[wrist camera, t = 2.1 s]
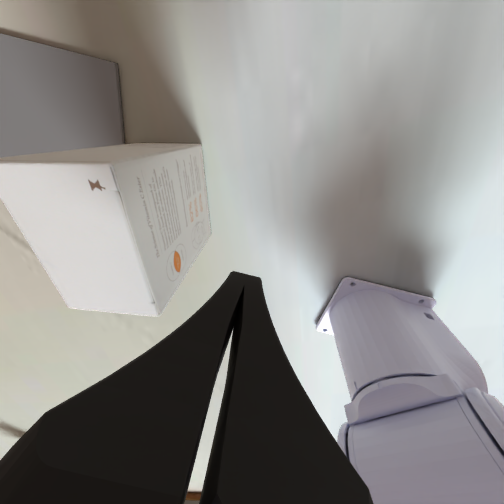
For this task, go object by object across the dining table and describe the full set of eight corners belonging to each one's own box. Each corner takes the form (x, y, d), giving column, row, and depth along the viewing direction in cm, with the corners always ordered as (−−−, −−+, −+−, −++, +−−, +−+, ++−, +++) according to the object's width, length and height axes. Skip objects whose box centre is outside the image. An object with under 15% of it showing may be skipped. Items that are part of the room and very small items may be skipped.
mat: (117, 63, 14) (114, 62, 14) (135, 255, 22) (133, 257, 22) (-56, 19, 14) (-62, 17, 14) (26, 228, 22) (23, 230, 22)
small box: (136, 142, 17) (-34, 154, 8) (203, 142, 16) (108, 157, 7) (158, 232, 21) (64, 311, 12) (213, 235, 20) (159, 320, 11)
